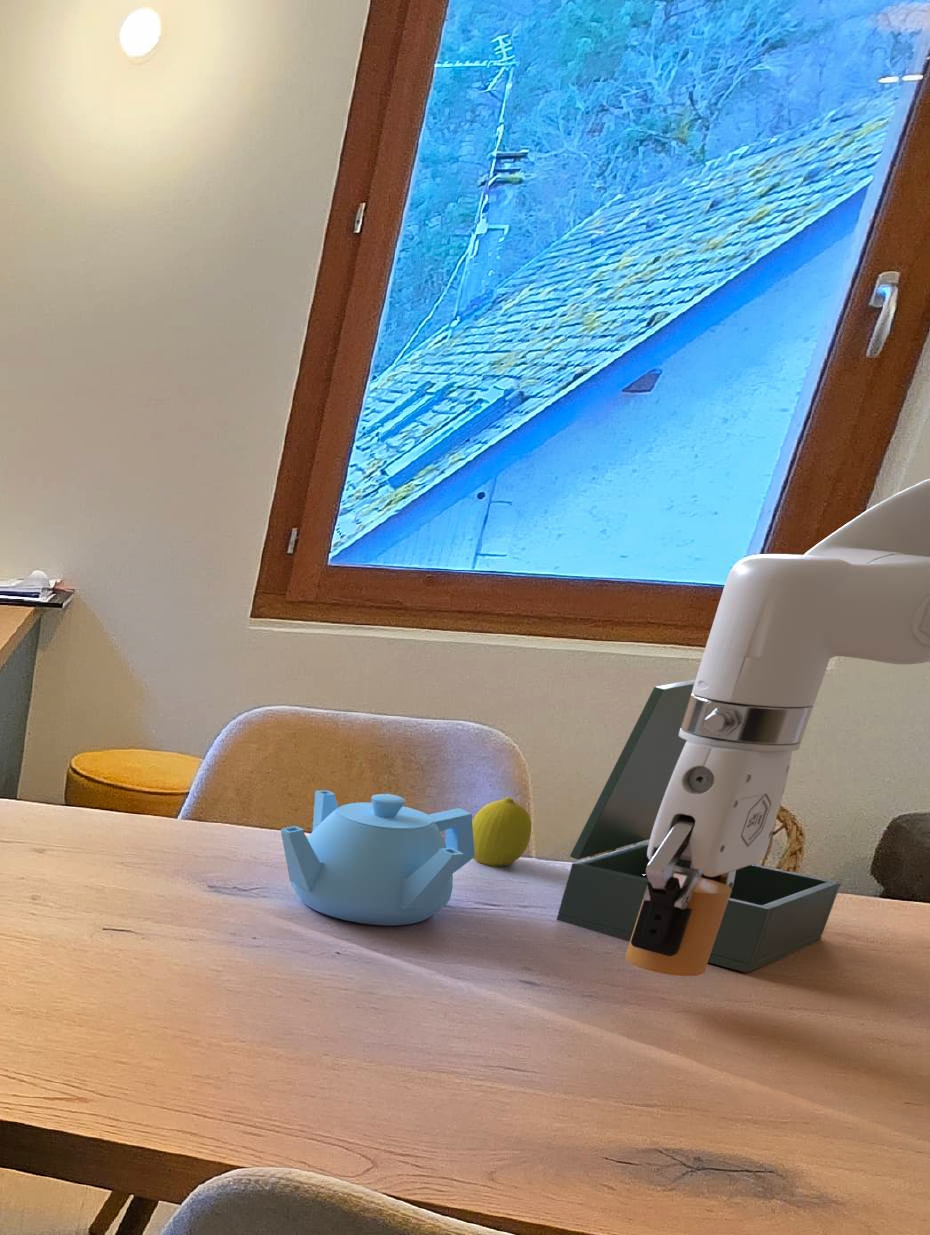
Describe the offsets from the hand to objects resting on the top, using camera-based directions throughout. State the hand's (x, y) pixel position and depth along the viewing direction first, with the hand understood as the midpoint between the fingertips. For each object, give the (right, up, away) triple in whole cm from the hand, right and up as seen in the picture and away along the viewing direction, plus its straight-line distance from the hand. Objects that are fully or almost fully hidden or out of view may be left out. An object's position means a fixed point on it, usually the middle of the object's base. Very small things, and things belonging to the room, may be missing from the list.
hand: (672, 942), depth 115 cm
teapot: (-14, +5, +22) cm, 26 cm away
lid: (+10, +17, +15) cm, 25 cm away
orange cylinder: (0, -2, +1) cm, 2 cm away
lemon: (+6, +9, +33) cm, 35 cm away
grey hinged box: (+13, +2, +16) cm, 20 cm away
